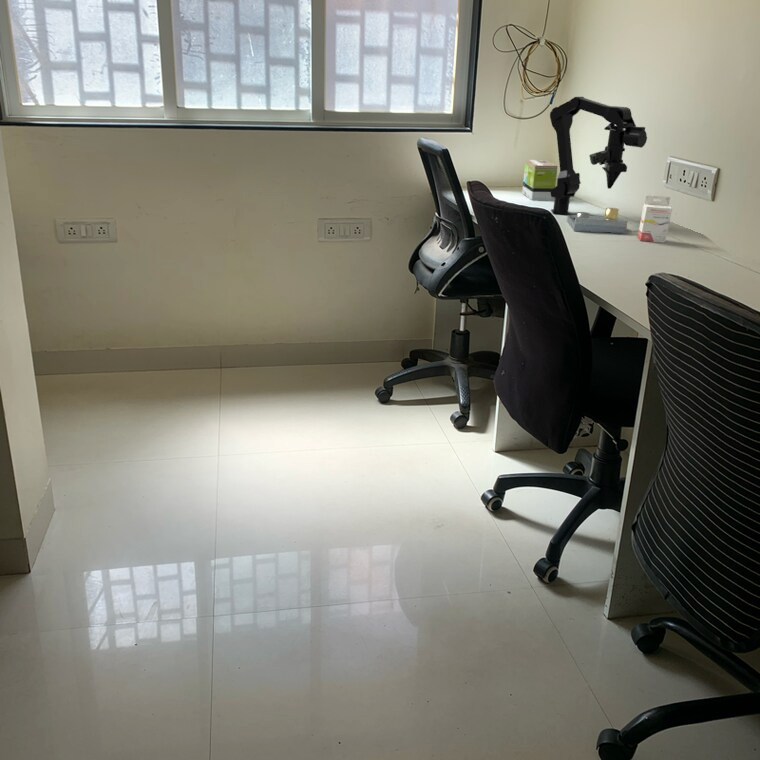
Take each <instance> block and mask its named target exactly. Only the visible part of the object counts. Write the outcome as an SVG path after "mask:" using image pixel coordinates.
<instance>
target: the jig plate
mask: <svg viewBox="0 0 760 760" xmlns="http://www.w3.org/2000/svg"><path fill="white" fill-rule="evenodd" d="M566 217H567V218H566V223H567V224H568V225H569V226H570V228H571V229H572V230H573V232H581V231H582V232H585V233H600V232H611V233H610V234H619V233H627V228H628V220H626V219H625V220H624V219H623V220H622V219H620V218H619V217H617V220H608V219H604V218H605V216H597V215H595V216H594V215H589V218H576V217H577V214H567V216H566ZM589 231H590V232H589Z"/></svg>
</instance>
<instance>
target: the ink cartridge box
mask: <svg viewBox="0 0 760 760" xmlns="http://www.w3.org/2000/svg"><path fill="white" fill-rule="evenodd" d="M657 199H658V200H657ZM659 200H660V201H659ZM670 200H671V196H667V195H666V196H665V195H652V194H650V195H649V194H646V195H645V200H644V204H643V207H642V210H641V211H642V212H641V218H640V222H639V228H638V232H637V233H638V235H637V239H639V241H640V242H650V243H651V242H653V243H666V242H667V236H668V232H669V227H670V221H671V216H672V212H673V210H672V209H673V208H672V207H671V206H670Z"/></svg>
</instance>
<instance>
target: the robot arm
mask: <svg viewBox="0 0 760 760" xmlns="http://www.w3.org/2000/svg"><path fill="white" fill-rule="evenodd" d="M580 111H584V112H587V113H589V114H593V115H597V116H599V117H601V118H604V120H605V121H607V122H609V124H608V125H606V126H605V127H604V130H605V131H609V135H608V140H607V145H606V146H604V150H601V151H598V152H594V153H591V154H589V159H590V164H592V165H593V166H595V165H598V164H599V166H602V165H604V166H602V170H603V171H604V172H605V175H606V187H607V189H612V187H613V186H614V184H615V182H616V181H617V180H618V178H619V176H620V175H621V173H627V172H628V171H627V170H628V166H627V164H626V163H624V159H623V156H624V155H623V153H624V152H625V151H626V148H625V146H626V147H633V148H634V147H635V148H643V147H644V146H645V145H646V143H647V140H648V136H647V132H646V127H645V126H637V125H636V123H635V121H634V119H633V115H632V111H631V109H630V108H629V107H627V106H615V105H609V104H605V103H601V102H599V101H596V100H592V99H588V98H586V97H584V96H573V98H571V99H570V100H568V101H566V102H565V103H562V104H560V105H558V106H555V107H554V108H552V110H551V111H550V112H549V119H550V123H551V126H552V128H553V130H554V132H556V142H557V153H558V163H559V173H558V175H557V177H556V185H555V188H554V189H553V190H551V197H554V200H553V209H550V211H551V213H552V214H554V213H555V214H554V215H571V212H570V210H569V208H570V201H571V197H575V195H576V193H577V192H578V191H579V189H580V184H582V183H581V180H580V179H581V177H580V175H581V174H580V173H579V172H576V171H575V170H574V164H573V163H574V162H573V153H572V142H571V131H570V130H571V128H572V124H573V121H574V120H573V118H574V116H576V115H577V114H578V113H580Z"/></svg>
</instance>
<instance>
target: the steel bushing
mask: <svg viewBox="0 0 760 760" xmlns="http://www.w3.org/2000/svg"><path fill="white" fill-rule="evenodd" d="M590 214H591V213H590V212H586V211H577V212H576V215H577V217H576V218H589V216H591V215H590Z"/></svg>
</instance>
